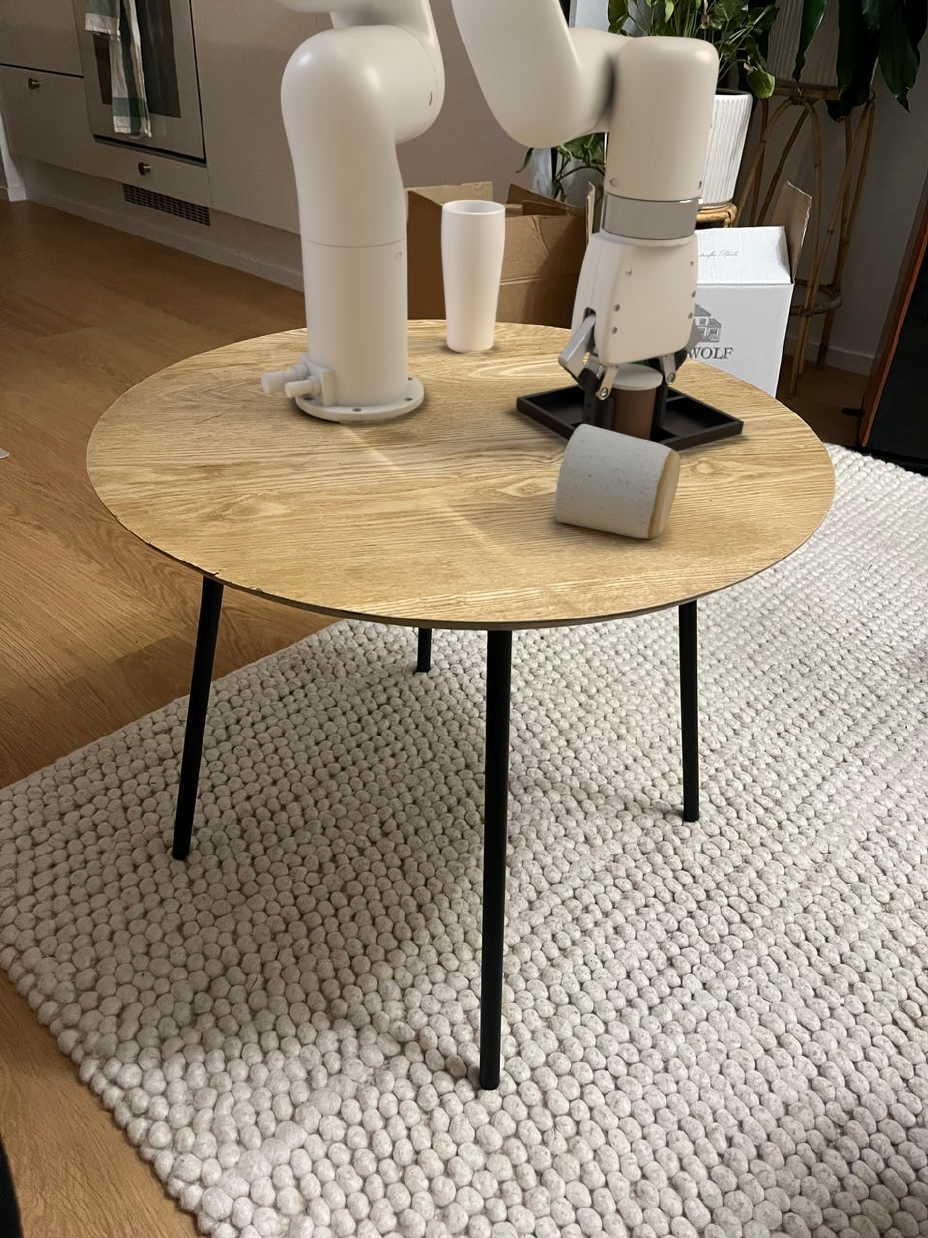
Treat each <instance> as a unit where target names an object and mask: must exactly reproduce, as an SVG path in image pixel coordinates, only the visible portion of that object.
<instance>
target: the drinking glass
mask: <svg viewBox="0 0 928 1238" xmlns="http://www.w3.org/2000/svg"><path fill="white" fill-rule="evenodd" d="M440 223H441V224H440V250H441V266H442V279H443V280H442V281H443V294H444V307H445V308H444V310H445V325H446V333H445V335H446V336H445V337H446V344H447V347H448V348H449V349H450V350H451V351H454V352H456V353H459V354H467V353H472V352H474V353H475V352H483V351H487V350H490V349H492V348H493V347H494V344H495V331H496V330H495V328H496V320H497V311H498V303H499V295H500V286H501V278H502V271H503V262H504V255H505V254H504V253H505V245H506V244H505V243H506V207H505V206H504V205H503V204H501V203H498V202H495V201H489V200H481V199H461V200H460V199H459V200H453V201H448V202H446V203H444V204H443V205H442V206H441V221H440Z"/></svg>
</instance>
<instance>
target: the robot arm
mask: <svg viewBox="0 0 928 1238" xmlns="http://www.w3.org/2000/svg"><path fill="white" fill-rule="evenodd" d="M275 1H276V2H277V3H278V4H280V5H281V6H282V7H284V8H286V9H289V10H290V11H294V12H298V13H307V14H327V13H329V15H330V20H331V23H332V26H333V28H330V29H327V30H323V31H320V32H318V33H316V34H314V35H312V36H311V37H309V38H307V39H306V40H304V41H303V42H302V43H301V44H299V46H298V47H297V48H296V49H295V50H294V52H293V53H292V55H291V56H290V58H289V59H288V61H287V63H286V66H285V69H284V73H283V74H282V75H283V76H282V79H281V85H280V86H281V87H280V108H281V115H282V120H283V126H284V130H285V135H286V137H287V138H286V139H287V142H288V148H289V151H290V155H291V160H292V165H293V166H292V167H293V171H294V178H295V185H296V195H297V206H298V218H299V233H300V234H299V235H300V245H301V258H302V261H301V262H302V275H303V289H304V290H303V291H304V292H303V293H304V306H305V320H306V336H307V337H306V338H307V352H304V353H299V354H298V363H297V364H293V365H292V366H291V368H290V369H288V370H275V371H270V372H264V373H262V374H261V376H260V383H261V387H262V390H263V392H264V393H265V395H269V394H270V395H271V394H275V393H280V392H285V395H286V397H287V398H288V399H291V398H295V403H296V405H297V406H298V408H300V409H301V410H302V411H303V412H305V413H306V414H308V415H310V416H313V417H316V418H319V419H322V420H327V421H331V422H338V423H339V422H340V421H351V422H352V421H354V422H355V421H356V422H364V421H378V420H384V419H385V420H386V419H390V418H394V417H399V416H402V415H404V414H408V413H409V412H412V411H413V410H415V409H416V408H418V407H419V406H420V405H421V404H422V403H423V401H424V398H425V389H424V386H423V384H422V382H420V381H419V380H418V379H417V378H416V377H414V376H412V375H411V374H409V363H408V362H409V354H408V353H409V347H408V345H409V344H408V343H409V342H408V340H409V339H408V337H409V335H408V333H409V331H408V329H409V328H408V324H409V323H408V239H407V238H408V234H407V206H406V195H405V187H404V182H403V178H402V174H401V171H400V166H399V165H400V164H399V162H398V161H399V160H398V157H397V150H396V146H397V145H400V144H403V143H406V142H408V141H411V140H414V139H416V138H418V137H419V136H421V135H422V134H424V133H425V132H426V131H427V130H429V129H430V127H432V125H433V124H434V123H435V121H436V120H437V118H438V116H439V114H440V112H441V109H442V106H443V103H444V99H445V91H446V89H445V88H446V77H445V68H444V61H443V55H442V51H441V46H440V43H439V38H438V34H437V30H436V26H435V21H434V17H433V13H432V10H431V9H432V8H431V5H430V0H275ZM450 1H451V6H452V10H453V14H454V17H455V21H456V25H457V28H458V31H459V34H460V37H461V40H462V43H463V45H464V48H465V51H466V53H467V56H468V58H469V59H468V60H469V62H470V64H471V66H472V69H473V72H474V74H475V77H476V79H477V82H478V84H479V87H480V89H481V92H482V94H483V96H484V99H485V101H486V103H487V105H488V107H489V109H490V112H491V113H492V115H493V117H494V118H495V121H497V123H498V125H500V127H501V129H502V131H504V132H505V133H506V134H507V135H508V136H509V137H510V138H511V139H512V140H515V141H516V142H517V143H519V144H521V145H523V146H526V147H528V148H533V149H539V150H540V149H542V150H543V149H550V148H554V147H557V146H558V147H559V146H561V145H563V144H566V143H568V142H571V141H572V140H574V139H577V138H582V137H585V136H587V135H588V136H589V135H592V134H596V133H608V142H607V153H606V162H605V173H604V182H603V193H602V203H601V214H600V224H599V231H598V232H595V233H591V235H590V237H589V241H588V244H587V247H586V250H585V253H584V256H583V260H582V265H581V269H580V273H579V278H578V282H577V287H576V294H575V298H574V299H575V300H574V305H573V312H572V320H571V326H570V327H571V328H570V339H569V341H568V343H567V344H566V346H564V349H563V350H562V351H561V353H560V354H559V356H558V357H557V363H558V365H559V366H560V367H561V368H563V370H565V371H566V372H567V373H568V374H570V376H571V378H572V379H573V380H574V381H575V382H576V383H577V384H579V387H580V389H582V390H584V391H585V398H584V408H583V418H582V424H587V425H591V426H594V427H598V428H602V429H606V430H609V431H611V423H612V415H613V406H614V399H613V398H611V397H609V396H608V395H609V393H610V391H611V388H612V385H613V382H614V380H615V377H616V374H617V372H618V369H619V366H620V365H621V364H626V363H631V362H636V361H641V360H644V363H645V366H647V367H650V368H653V369H655V370H657V371H658V372H660V373H661V374H662V383H661V384H660V385H659V386H657V387H656V394H655V402H654V409H653V416H652V424H651V426H652V427H654V428H656V429H657V428H661V427H662V426H663V421H664V415H665V408H666V401H667V394H668V388H669V386H670V385H673V384H674V383H675V381H676V379H677V372H678V370H679V369H680V368H681V366H682V365H683V364H684V363H685V361H686V360H687V359H688V354H690V353H691V352H692V351H693V350H694V348H695V347H696V346H697V345H698V344H699V343H700V341H701V340H702V336H703V335H702V332H701V331H700V329H699V327H698V325H697V323H696V322H695V319H694V317H695V309H696V300H697V290H698V288H697V287H698V277H699V275H698V274H699V273H698V272H699V244H698V234H696V233H695V232H696V226H697V220H698V219H697V218H698V214H699V213H701V212H702V211H703V208H704V200H703V198H702V197H701V193H702V184H703V179H704V172H705V165H706V158H707V157H706V156H707V152H708V143H709V137H710V130H711V125H712V118H713V117H712V116H713V111H714V105H715V97H716V91H717V85H718V78H719V71H720V57H719V53H718V50H717V48H716V47H715V46H714V45H713V44H712V43H710V42H708V41H707V40H703V39H699V38H692V37H685V36H661V35H659V36H658V35H657V36H655V35H654V36H653V35H650V36H638V37H632V36H626V35H621V34H617V33H612V32H609V31H605V30H599V29H596V28H591V27H581V26H580V27H579V26H578V27H577V26H576V27H569V26H568V23H567V20H566V17H565V15H564V12H563V9H562V7H561V2H560V0H450ZM587 353H589V354H588V356H587V359H586V362H585V363H584V359H585V356H586V354H587ZM601 367H604V368H603V371H602V373H601V376H600V379H599V378H598V377H597V374H598V371H599V369H600V368H601Z"/></svg>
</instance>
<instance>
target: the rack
mask: <svg viewBox="0 0 928 1238" xmlns="http://www.w3.org/2000/svg"><path fill="white" fill-rule="evenodd" d="M668 386H669V388H668V394H667V401H666V408H665V415H664V421H663V426H662V427H661V428H657V429H656V428H654V427H652V426H651V431H650V438H649V441H652V442H656V443H659V444H662V445H664V446H666V447H669V448H671V449H673V450H675V451H676V452H677V453H678V452H682V451H685V450H689V449H692V448H696V447H697V448H698V447H700V446H703V445H707V444H711V443H715V442H718V441H722V440H725V439H729V438H733V437H737V436H740V435H743V430H744V424H745V421H744V420H741V419H739V418H738V417H736V416H733V415H731V414H729V413H727V412H725V411H723V410H721V409H719V408H716V407H714V406H712V405H710V404H708V403H706V402H705V401H704V402H703V401H701V400H699V399H697V398H695V397H693V396H691V395H689V394H686V393H684V392H682V391H680V390H678V389H676V388H674V387H672V386H670V385H668ZM584 398H585V391H584V390H582V389H580V387H579V384H578V383H577V384H571V385H568V386H563V387H559V388H554V389H549V390H544V391H540V392H536V393H531V394H526V395H522V396H518V397H516V404H515V411H516V412H519V413H520V414H522V415H524V416H525V417H527V418H529V419H531V420H533V421H534V422H536V423H537V424H539V425H541V426H542V427H544V428H546V429H548V430H549V431H551V432H553V433H554V434H556V435H558V436H560V437H562V438H563V439H565V440H566V441H568V442H569V440H570V438H571V437H572V435H573V433H574V432H575V430H576V429H577V427H579V425H581V424H582V418H583V408H584Z"/></svg>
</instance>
